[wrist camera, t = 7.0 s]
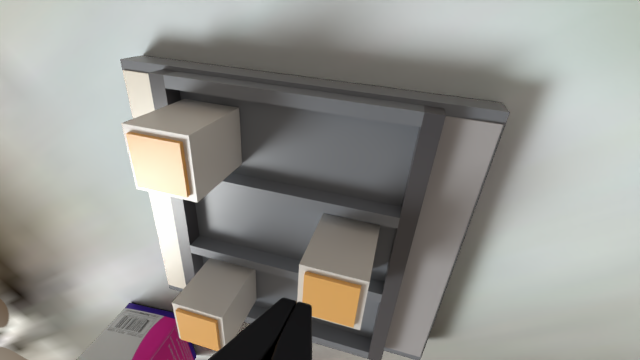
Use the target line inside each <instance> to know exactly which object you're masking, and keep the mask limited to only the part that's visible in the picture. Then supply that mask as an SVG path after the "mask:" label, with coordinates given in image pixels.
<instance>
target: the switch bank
mask: <svg viewBox="0 0 640 360" xmlns="http://www.w3.org/2000/svg"><path fill="white" fill-rule="evenodd" d="M120 61H121V65H122V70H123V75H124V79H125V84H126V89H127V93H128V98H129V103H130V107H131V112H132V117H133V119H134V118H136V117H139V116H142V115H144V114H147V113H149V112H152V111H154V110H157V109H160V108H162V107H165V106H167V105H170V104H173V103H175V102H178V101H180V100H183V99H188V100H194V101H200V102H207V103H213V104H219V105H226V106H232V107H238V108H239V113H240V133H241V153H242V164H241V165H240V166H239V167H238V168H237V169H235V170H234V171H233V172H232V173H231V174H230V175H229V176H227V177H226V178H225V179H224V180H223V181H222V182H221V183H219V184H218V185H217V186H216V187H215V188H214V189H213V190H211V191H210V192H209V193H208V194H207V195H206V196H205V197H203V198H202V199H201V200H200V201H199V202H198V203H197V202H192V201H188V200H183V199H179V198H175V197H170V196H166V195H161V194H157V193H153V192H149V196H150V201H151V205H152V210H153V214H154V219H155V224H156V228H157V233H158V238H159V242H160V247H161V252H162V256H163V261H164V266H165V270H166V275H167V280H168V284H169V288H170V289H174V290H177V291H180V292H181V291H182V290H183V289H184V288H185V287H186V285H187V284H188V283H189V282H190V281H191V279H192V278H193V277H194V276H195V275H196V273H197V272H198V271H199V270H200V269H201V268H202V266H203V265H204V264H205V263H206V262H207V260H208V259H209V258H212V259H216V260H220V261H224V262H227V263H231V264H235V265H239V266H243V267H247V268H250V269H254V270H256V298H257V299H256V301H255V303H254V305H253V307H252V308H251V310H250V312H249V314H248V315H247V317H246V319H245V321H244V322H246V323H250V324H251V323H252V322H253V321H255V320H256V319H257V318H258V317H259V316H260V315H262V314H263V313H264V312H265V311H266V310H268V309H269V308H270V307H271V306H272V305H274V304H275V303H276V302H277V301H278V300H280V299H281V298H283V297H285V298H289V299H292V300H295V301H296V302H297V294H298V275H299V263H300V261H301V259H302V257H303V255H304V253H305V251H306V249H307V246H308V244H309V242H310V240H311V238H312V236H313V234H314V232H315V230H316V227H317V225H318V223H319V221H320V219H321V217H322V215H323V213H324V214H329V215H334V216H338V217H343V218H348V219H352V220H357V221H362V222H366V223H371V224H376V225H380V229H379V235H378V240H377V245H376V251H375V256H374V262H373V267H372V272H371V278H370V283H369V288H368V293H367V298H366V303H365V308H364V313H363V318H362V323H361V328H360V330H357V329H353V328H350V327H346V326H343V325H339V324H336V323H332V322H329V321H325V320H321V319H318V318H314V317H312V342H313V343H317V344H320V345H323V346H327V347H330V348H333V349H337V350H340V351H343V352H347V353H350V354H353V355H357V356H360V357H363V358H367V359H370V360H381V358H382V355H383V351H387V352H390V353H394V354H397V355H401V356H404V357H408V358H411V359H414V360H420V359H421V357H422V354H423V351H424V348H425V346H426V343H427V340H428V337H429V335H430V332H431V329H432V326H433V323H434V321H435V318H436V315H437V312H438V310H439V307H440V304H441V301H442V299H443V296H444V293H445V290H446V288H447V285H448V282H449V279H450V276H451V274H452V271H453V268H454V265H455V263H456V260H457V257H458V254H459V252H460V249H461V246H462V243H463V240H464V238H465V235H466V232H467V229H468V227H469V224H470V221H471V218H472V216H473V213H474V210H475V207H476V205H477V202H478V199H479V196H480V193H481V191H482V188H483V185H484V182H485V180H486V177H487V174H488V171H489V169H490V166H491V163H492V160H493V157H494V155H495V152H496V149H497V146H498V144H499V141H500V138H501V135H502V133H503V130H504V127H505V124H506V122H507V119H508V116H509V113H510V112H509V111H508V109H507V108H506V107H505V106H504V105H503V104H502V103H501V102H493V101H486V100H478V99H471V98H463V97H455V96H448V95H440V94H432V93H425V92H417V91H409V90H402V89H394V88H387V87H379V86H371V85H364V84H356V83H348V82H341V81H333V80H325V79H318V78H310V77H303V76H295V75H287V74H280V73H272V72H264V71H257V70H249V69H241V68H234V67H226V66H219V65H211V64H203V63H196V62H188V61H180V60H173V59H165V58H158V57H150V56H136V57H131V58H125V59H120Z"/></svg>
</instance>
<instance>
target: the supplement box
mask: <svg viewBox="0 0 640 360" xmlns="http://www.w3.org/2000/svg"><path fill="white" fill-rule="evenodd" d="M195 358H196V353H195V350H194V347H193V344H192V343H190V342H187V341H184V340H181V339H180V338H179V334H178V329H177V324H176V320H175V315H174V312H169V311H165V310H160V309H155V308H150V307H146V306H142V305H137V304H133V303H129V304H128V305H127V306H126V308H125V309H124V310H123V311H122V312H121V313H120V314H119V315H118V316H117V317H116V318H115V319H114V320H113V321H112V322H111V323H110V324H109V325H108V327H107V328H106V329H105V330H104V331H103V332H102V333H101V334H100V335H99V336H98V337H97V338H96V339H95V340H94V341H93V342H92V343H91V344H90V346H89V347H88V348H87V349H86V350H85V351H84V352H83V353H82V354H81V355H80V356H79V357H78V358H77V359H76V360H195Z"/></svg>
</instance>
